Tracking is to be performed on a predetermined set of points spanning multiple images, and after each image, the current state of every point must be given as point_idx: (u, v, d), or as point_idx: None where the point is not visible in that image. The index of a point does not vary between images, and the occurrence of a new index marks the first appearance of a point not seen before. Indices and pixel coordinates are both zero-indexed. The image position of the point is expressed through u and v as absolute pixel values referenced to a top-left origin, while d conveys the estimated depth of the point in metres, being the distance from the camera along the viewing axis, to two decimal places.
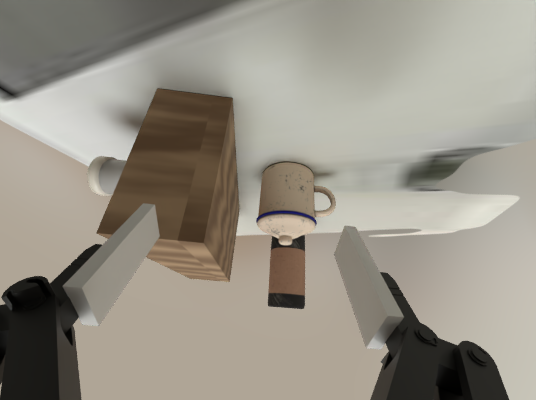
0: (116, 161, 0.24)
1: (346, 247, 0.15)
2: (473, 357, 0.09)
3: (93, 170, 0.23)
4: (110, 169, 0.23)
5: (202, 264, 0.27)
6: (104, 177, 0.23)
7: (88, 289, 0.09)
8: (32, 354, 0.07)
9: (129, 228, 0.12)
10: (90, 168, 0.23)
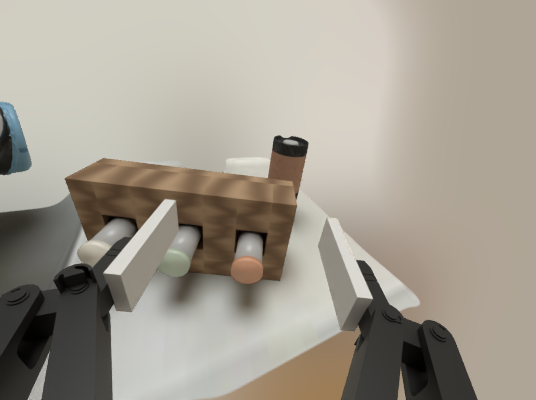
0: None
1: (327, 237, 0.15)
2: (434, 335, 0.09)
3: None
4: None
5: (166, 171, 0.36)
6: None
7: (125, 276, 0.10)
8: (75, 336, 0.08)
9: (155, 222, 0.13)
10: None
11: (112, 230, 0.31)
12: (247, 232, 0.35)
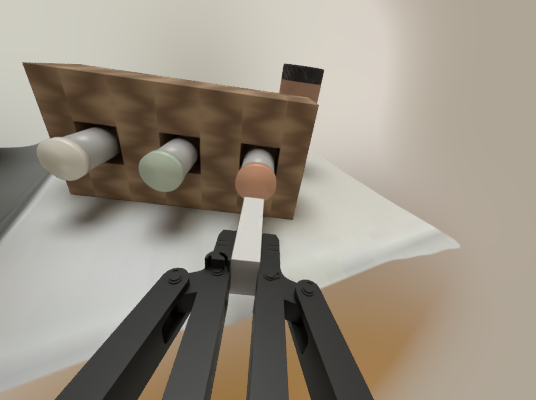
0: None
1: None
2: (305, 293, 0.10)
3: None
4: None
5: (155, 76, 0.29)
6: None
7: None
8: (206, 313, 0.09)
9: (248, 217, 0.15)
10: None
11: (84, 134, 0.25)
12: (255, 148, 0.28)
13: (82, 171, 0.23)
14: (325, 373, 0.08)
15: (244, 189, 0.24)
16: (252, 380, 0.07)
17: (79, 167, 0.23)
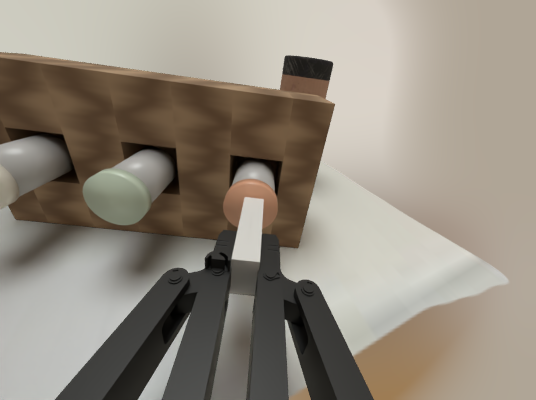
0: None
1: None
2: (305, 293, 0.10)
3: None
4: None
5: (119, 68, 0.22)
6: None
7: None
8: (206, 313, 0.09)
9: (248, 217, 0.15)
10: None
11: (13, 145, 0.18)
12: (250, 158, 0.22)
13: (4, 199, 0.16)
14: (325, 373, 0.08)
15: (235, 214, 0.18)
16: (252, 380, 0.07)
17: None
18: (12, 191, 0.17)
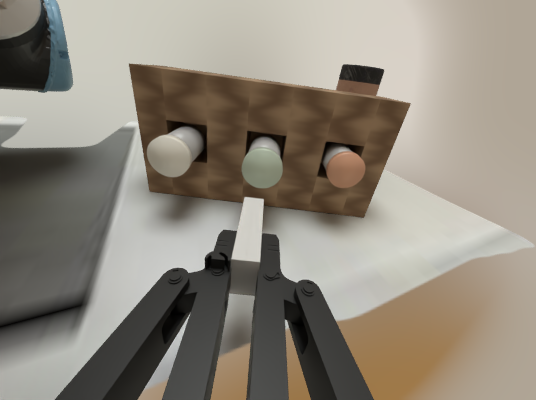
0: None
1: None
2: (306, 293, 0.10)
3: None
4: None
5: None
6: None
7: None
8: (206, 313, 0.09)
9: (248, 217, 0.15)
10: None
11: (183, 132, 0.25)
12: None
13: (186, 168, 0.24)
14: (325, 373, 0.08)
15: (335, 175, 0.27)
16: (252, 380, 0.07)
17: (184, 164, 0.24)
18: (190, 163, 0.24)
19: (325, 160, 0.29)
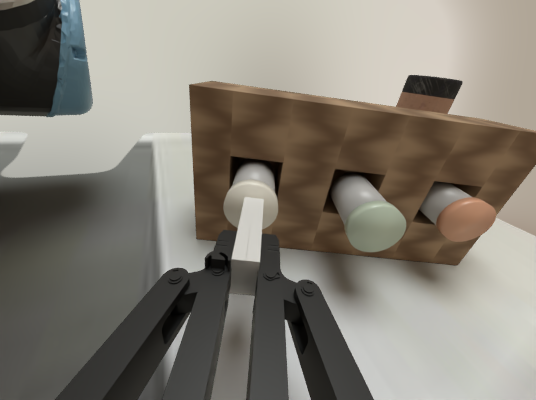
0: None
1: None
2: (305, 293, 0.10)
3: None
4: None
5: (313, 96, 0.23)
6: None
7: None
8: (206, 313, 0.09)
9: (248, 217, 0.15)
10: (224, 201, 0.18)
11: (260, 170, 0.20)
12: None
13: (272, 220, 0.18)
14: (325, 373, 0.08)
15: (453, 228, 0.21)
16: (252, 380, 0.07)
17: (271, 216, 0.18)
18: None
19: (428, 203, 0.23)
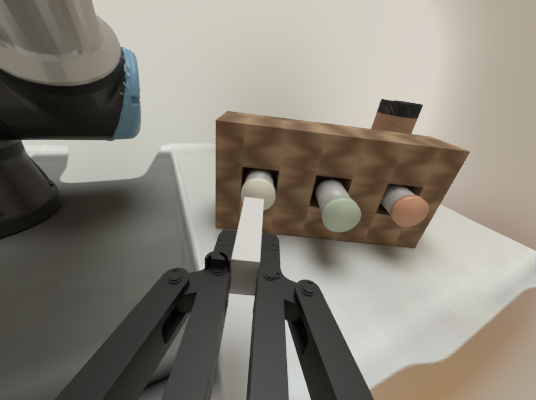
0: None
1: None
2: (305, 293, 0.10)
3: None
4: None
5: (301, 122, 0.32)
6: None
7: None
8: (206, 313, 0.09)
9: (248, 217, 0.15)
10: (241, 191, 0.28)
11: (263, 172, 0.30)
12: None
13: (271, 203, 0.28)
14: (325, 373, 0.08)
15: (400, 216, 0.29)
16: (252, 380, 0.07)
17: (271, 201, 0.28)
18: None
19: (386, 199, 0.31)
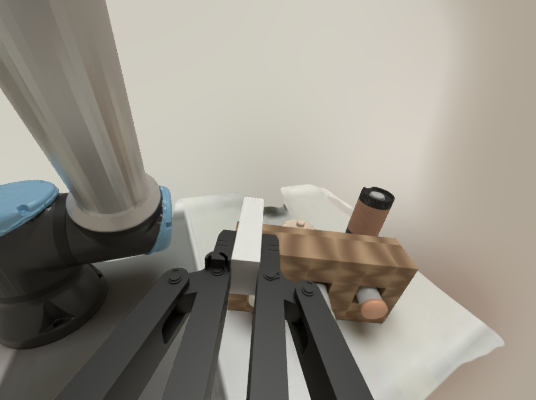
0: None
1: None
2: (305, 293, 0.10)
3: (249, 295, 0.38)
4: None
5: (295, 233, 0.42)
6: None
7: None
8: (206, 313, 0.09)
9: (248, 217, 0.15)
10: (249, 297, 0.38)
11: None
12: None
13: None
14: (325, 373, 0.08)
15: (367, 313, 0.39)
16: (252, 380, 0.07)
17: None
18: None
19: (358, 295, 0.41)
